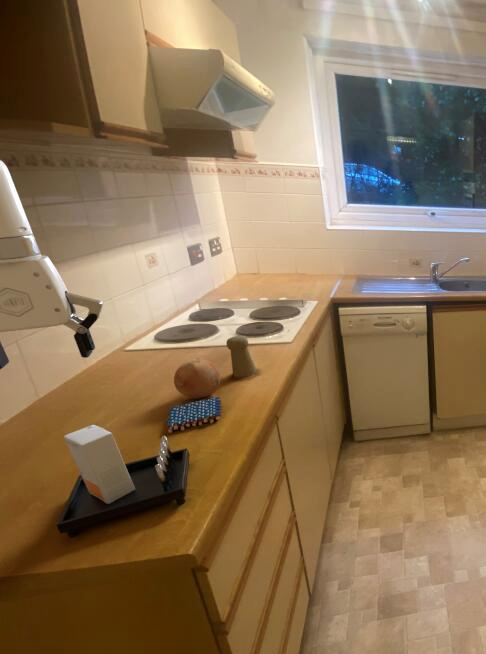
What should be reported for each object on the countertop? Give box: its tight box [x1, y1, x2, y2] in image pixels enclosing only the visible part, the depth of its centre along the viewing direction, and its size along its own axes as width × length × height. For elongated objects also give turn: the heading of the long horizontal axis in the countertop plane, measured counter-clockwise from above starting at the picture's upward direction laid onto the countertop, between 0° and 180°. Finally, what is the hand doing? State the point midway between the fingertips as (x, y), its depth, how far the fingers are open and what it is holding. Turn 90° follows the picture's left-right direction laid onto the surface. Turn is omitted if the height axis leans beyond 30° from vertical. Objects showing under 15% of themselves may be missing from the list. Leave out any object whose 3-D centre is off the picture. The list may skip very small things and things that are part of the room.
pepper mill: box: [226, 335, 258, 379], centre depth 123 cm, size 6×6×11 cm
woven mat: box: [165, 396, 222, 434], centre depth 102 cm, size 10×11×2 cm
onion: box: [173, 358, 221, 400], centre depth 110 cm, size 10×10×10 cm
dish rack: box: [55, 435, 190, 538], centre depth 76 cm, size 16×14×8 cm
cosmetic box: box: [63, 424, 135, 504], centre depth 73 cm, size 6×4×12 cm
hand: (46, 360), depth 68 cm, fingers open, 9 cm apart
